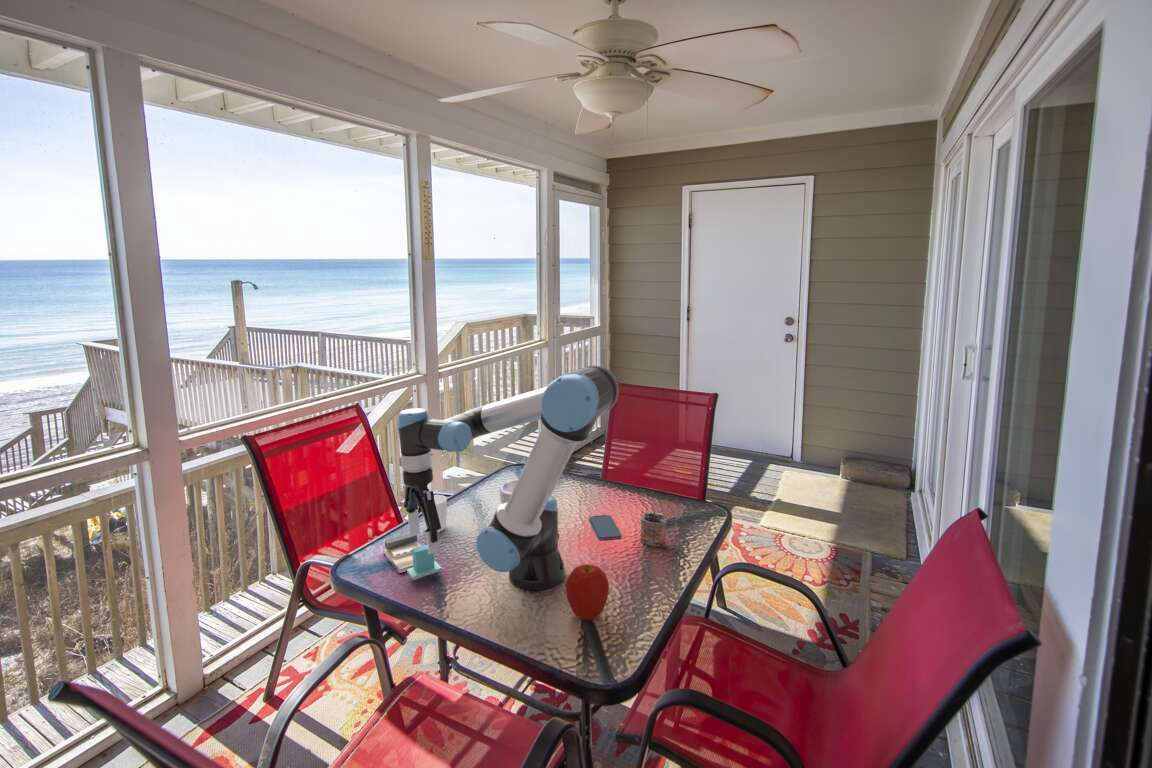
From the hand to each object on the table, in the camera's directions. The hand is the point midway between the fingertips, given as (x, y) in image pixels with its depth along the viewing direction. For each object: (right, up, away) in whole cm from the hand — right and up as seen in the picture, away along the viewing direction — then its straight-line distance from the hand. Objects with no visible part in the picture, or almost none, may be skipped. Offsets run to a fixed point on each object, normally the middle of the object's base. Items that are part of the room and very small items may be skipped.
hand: (424, 543), depth 158 cm
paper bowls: (+22, 0, +47) cm, 52 cm away
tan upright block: (+64, -6, +20) cm, 67 cm away
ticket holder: (-8, -8, +12) cm, 16 cm away
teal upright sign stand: (0, -8, +2) cm, 8 cm away
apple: (+43, -13, -16) cm, 48 cm away
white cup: (-4, -4, +31) cm, 32 cm away
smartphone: (+50, -4, +30) cm, 58 cm away
